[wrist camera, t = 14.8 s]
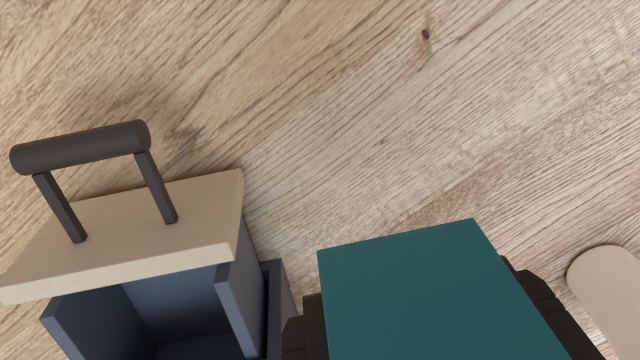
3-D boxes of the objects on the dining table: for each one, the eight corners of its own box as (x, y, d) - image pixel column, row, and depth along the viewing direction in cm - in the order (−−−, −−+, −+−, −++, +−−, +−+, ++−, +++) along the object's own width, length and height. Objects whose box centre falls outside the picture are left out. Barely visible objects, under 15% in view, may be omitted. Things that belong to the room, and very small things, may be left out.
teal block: (316, 249, 12) (335, 410, 8) (473, 216, 12) (576, 362, 8) (342, 351, 14) (368, 518, 10) (474, 324, 14) (554, 481, 10)
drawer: (9, 120, 24) (-92, 189, 17) (211, 78, 23) (185, 131, 17) (145, 344, 33) (113, 440, 27) (288, 315, 33) (290, 406, 27)
